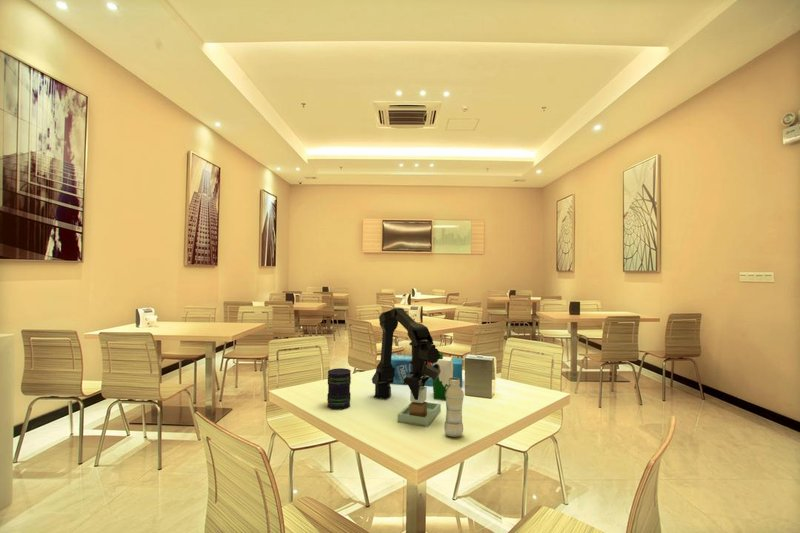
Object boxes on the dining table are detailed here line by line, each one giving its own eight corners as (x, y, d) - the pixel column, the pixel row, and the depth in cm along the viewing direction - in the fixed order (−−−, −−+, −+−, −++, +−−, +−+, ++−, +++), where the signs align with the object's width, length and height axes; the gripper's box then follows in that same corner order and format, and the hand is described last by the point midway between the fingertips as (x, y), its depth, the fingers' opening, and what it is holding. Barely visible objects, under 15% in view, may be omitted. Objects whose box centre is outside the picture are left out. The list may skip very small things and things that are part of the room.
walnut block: (422, 419, 151) (422, 406, 151) (409, 417, 153) (409, 404, 153) (427, 414, 156) (427, 402, 156) (414, 412, 158) (414, 400, 158)
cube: (410, 401, 153) (410, 388, 154) (414, 397, 158) (414, 385, 158) (422, 403, 152) (422, 390, 152) (426, 399, 156) (426, 386, 156)
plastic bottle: (442, 432, 141) (443, 376, 142) (461, 431, 142) (461, 376, 142) (446, 439, 135) (446, 381, 135) (465, 439, 135) (465, 381, 136)
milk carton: (434, 393, 186) (434, 351, 186) (453, 395, 184) (453, 352, 185) (431, 399, 178) (432, 355, 178) (451, 401, 176) (452, 356, 176)
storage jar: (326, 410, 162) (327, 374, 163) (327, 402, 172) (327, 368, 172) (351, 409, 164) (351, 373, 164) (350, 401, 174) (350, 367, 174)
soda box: (383, 384, 203) (383, 359, 203) (388, 377, 216) (388, 353, 216) (461, 389, 195) (462, 363, 196) (462, 381, 209) (462, 357, 209)
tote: (397, 422, 150) (397, 414, 150) (413, 407, 167) (413, 400, 167) (427, 426, 146) (427, 418, 146) (440, 411, 163) (440, 403, 163)
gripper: (431, 365, 143) (431, 408, 143) (444, 355, 161) (444, 393, 161) (403, 362, 148) (402, 404, 147) (419, 353, 165) (418, 390, 165)
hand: (418, 397), depth 155 cm, fingers closed on cube, 5 cm apart
